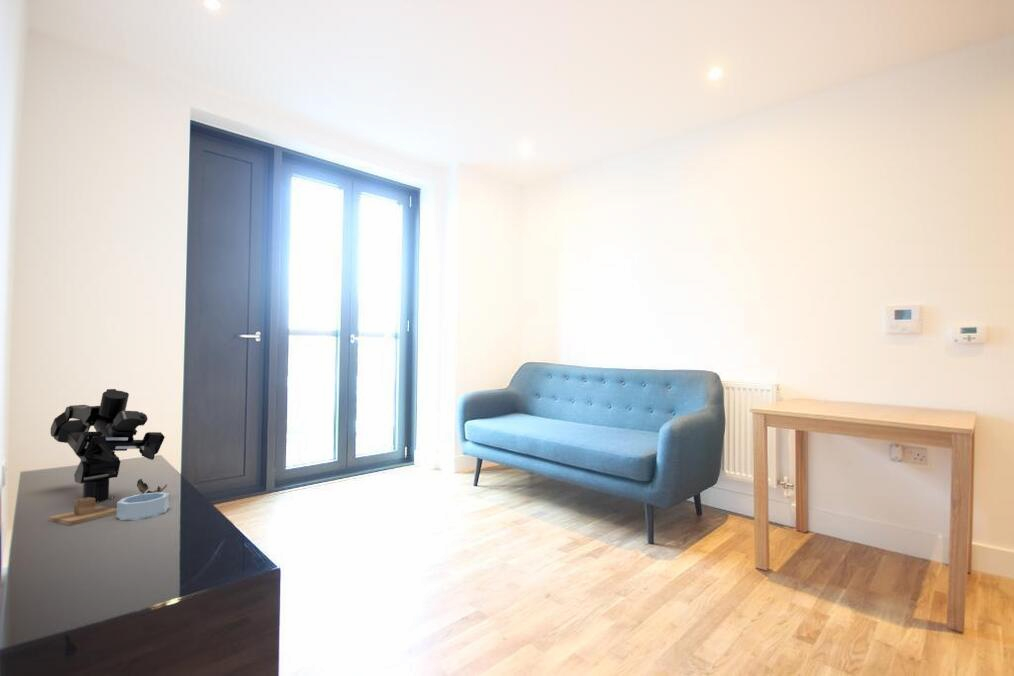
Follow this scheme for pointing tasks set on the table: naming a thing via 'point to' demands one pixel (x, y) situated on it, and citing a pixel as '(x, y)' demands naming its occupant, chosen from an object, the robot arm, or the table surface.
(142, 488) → the eagle figurine
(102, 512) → the lid
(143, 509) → the bowl
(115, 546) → the table surface
